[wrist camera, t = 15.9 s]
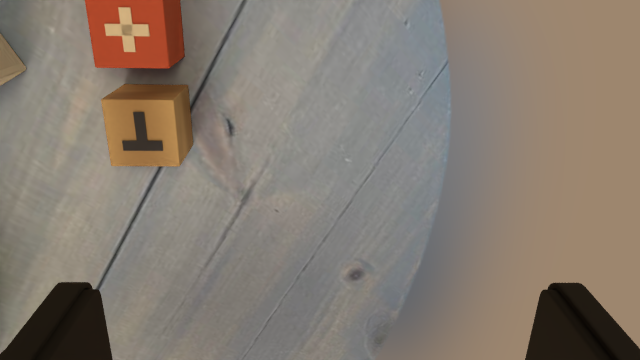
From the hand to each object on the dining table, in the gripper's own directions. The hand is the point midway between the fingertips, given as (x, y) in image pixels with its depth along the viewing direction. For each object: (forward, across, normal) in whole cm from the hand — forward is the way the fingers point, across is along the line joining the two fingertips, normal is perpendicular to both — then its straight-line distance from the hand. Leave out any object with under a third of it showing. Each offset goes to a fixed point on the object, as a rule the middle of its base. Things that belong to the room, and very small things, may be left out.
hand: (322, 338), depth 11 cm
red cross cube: (+28, +11, -4) cm, 30 cm away
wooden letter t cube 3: (+28, +11, +3) cm, 30 cm away
